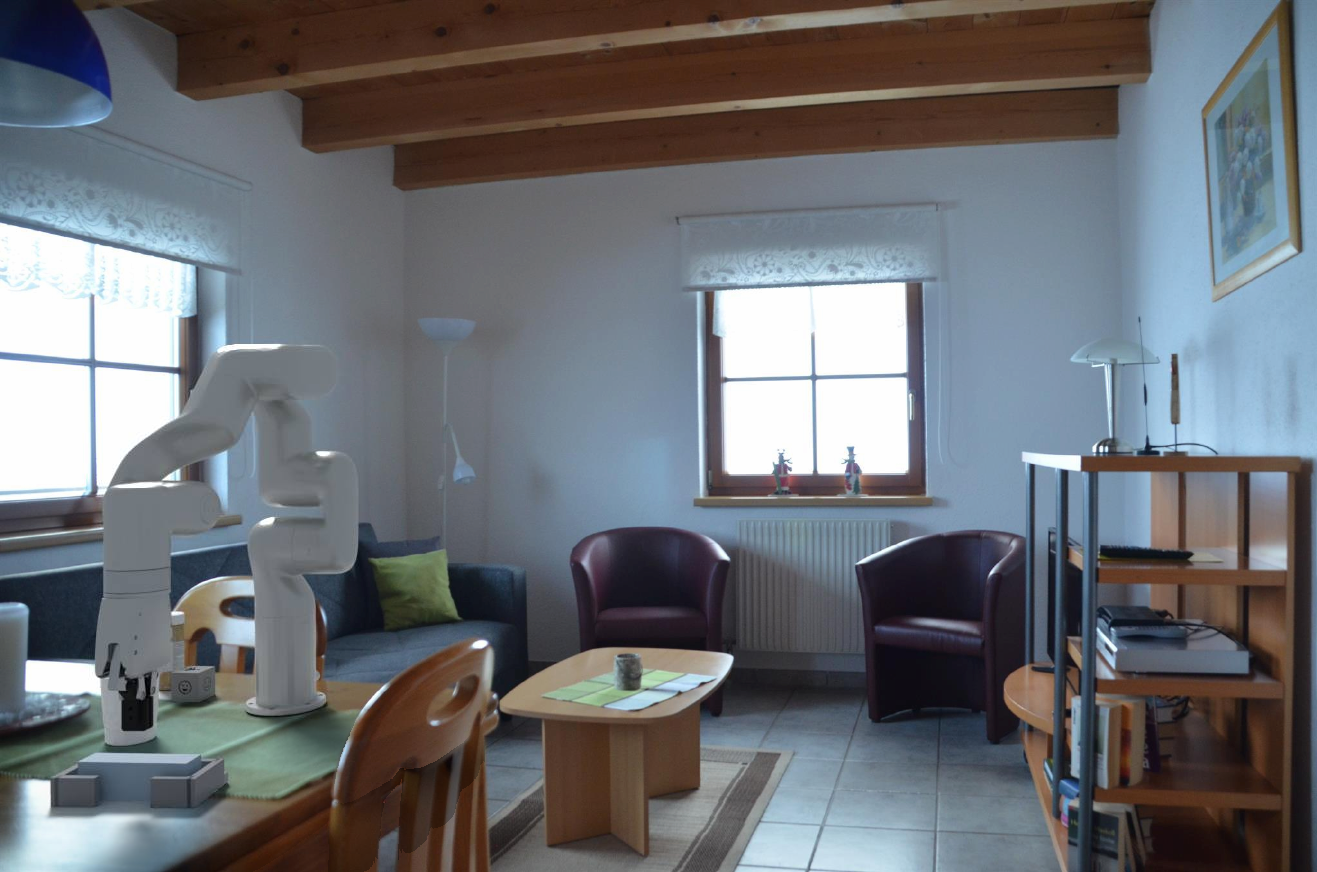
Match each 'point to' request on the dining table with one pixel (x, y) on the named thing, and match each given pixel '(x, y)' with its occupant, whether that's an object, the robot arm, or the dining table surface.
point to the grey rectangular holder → (164, 789)
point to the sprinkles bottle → (174, 651)
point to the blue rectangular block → (135, 772)
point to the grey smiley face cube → (192, 683)
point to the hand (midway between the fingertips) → (137, 729)
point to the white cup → (113, 718)
